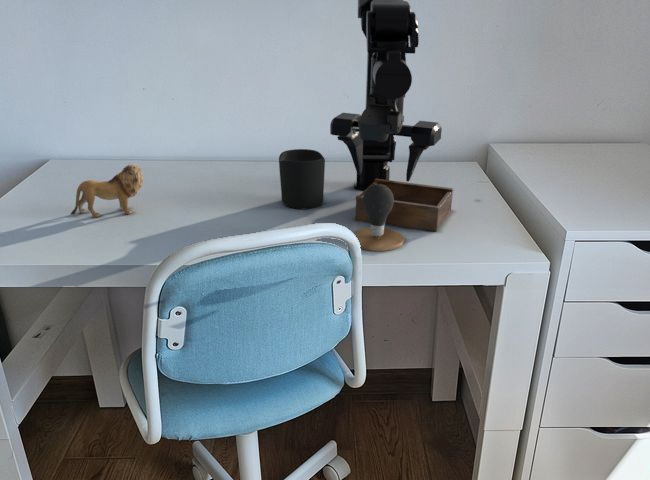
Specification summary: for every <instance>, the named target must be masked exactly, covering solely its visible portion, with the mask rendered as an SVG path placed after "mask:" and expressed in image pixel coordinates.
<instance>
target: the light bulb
mask: <svg viewBox="0 0 650 480" xmlns="http://www.w3.org/2000/svg"><path fill="white" fill-rule="evenodd" d="M393 204H394V197H393V193H392V192H391V190H390V189H389V188H388V187H387V186H385V185H382V184H375V185H372V186H370V187H369V188H368V189H367V190H366V192H365V193H364V196H363V205H364V208H365V210H366V212H367V214H368V216H369V220H370V222H369V224H370V228H371V230H370V231H371V234H372V235H373V236H374V237H375V238H379V237H380V236H382V235H383V233H384V229H385V225H386V224H385V222H386V218H387V216H388V214H389V212H390V211H391V209H392V207H393Z"/></svg>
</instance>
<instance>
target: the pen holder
mask: <svg viewBox="0 0 650 480" xmlns="http://www.w3.org/2000/svg"><path fill="white" fill-rule="evenodd" d="M278 168H279V181H280V193H281V202H282V204H283V205H284V206H285V207H288V208H291V209H294V210H295V209H297V210H309V209H315V208H318V207H320V206H321V205H322V204H323V202H324V193H325V192H324V191H325V169H326V158H325V157H324V156H323V154H322V153H321V152H320V151H318V150H315V149H308V148H307V149H306V148H297V149H288V150H285V151H282V152H281V153H280V154H279V157H278Z"/></svg>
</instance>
